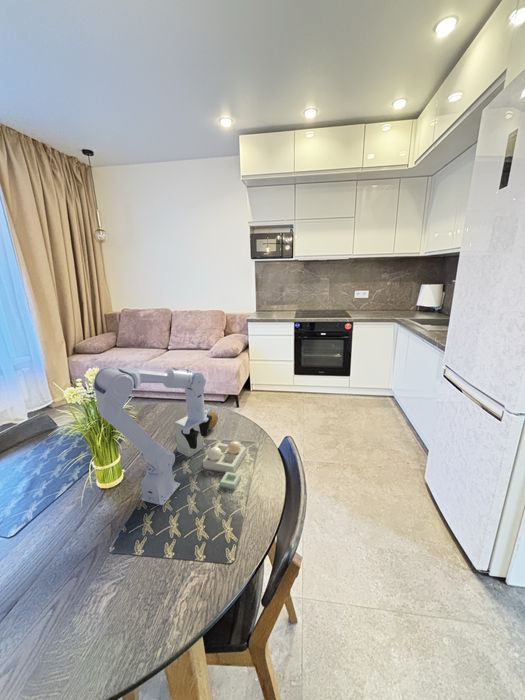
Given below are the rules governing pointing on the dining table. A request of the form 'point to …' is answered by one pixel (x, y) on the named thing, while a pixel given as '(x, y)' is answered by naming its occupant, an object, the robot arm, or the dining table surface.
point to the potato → (213, 420)
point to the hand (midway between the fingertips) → (199, 441)
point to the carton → (225, 460)
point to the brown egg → (234, 447)
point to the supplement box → (182, 442)
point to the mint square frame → (230, 480)
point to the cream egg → (214, 453)
